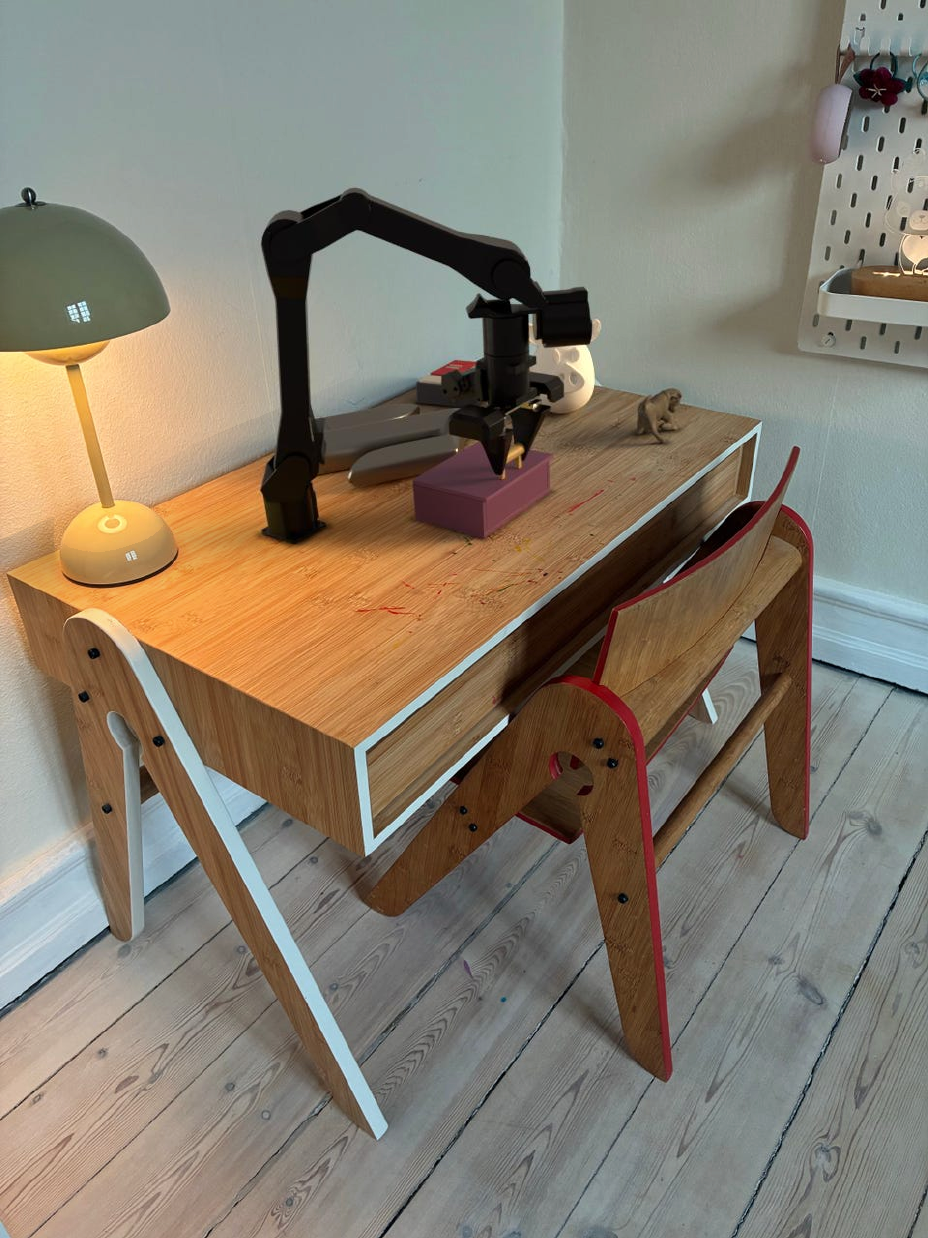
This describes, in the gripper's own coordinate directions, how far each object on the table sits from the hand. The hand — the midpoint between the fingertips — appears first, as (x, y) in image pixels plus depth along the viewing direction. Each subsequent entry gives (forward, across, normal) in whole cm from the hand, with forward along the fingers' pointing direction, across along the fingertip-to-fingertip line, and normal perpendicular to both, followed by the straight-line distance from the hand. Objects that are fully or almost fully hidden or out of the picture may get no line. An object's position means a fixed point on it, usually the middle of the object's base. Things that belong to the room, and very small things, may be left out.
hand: (509, 467), depth 128 cm
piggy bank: (+7, -37, -14) cm, 40 cm away
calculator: (+7, -37, -34) cm, 51 cm away
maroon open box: (+7, 0, -4) cm, 8 cm away
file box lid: (+1, 0, -4) cm, 4 cm away
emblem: (+7, -8, -28) cm, 30 cm away
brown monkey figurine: (+7, -36, +4) cm, 37 cm away
